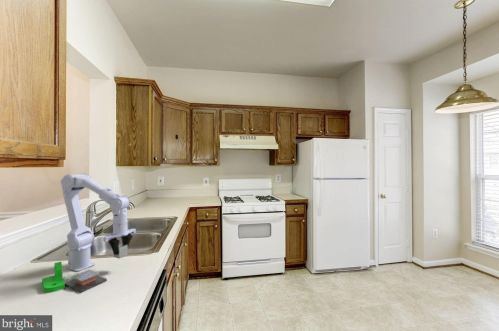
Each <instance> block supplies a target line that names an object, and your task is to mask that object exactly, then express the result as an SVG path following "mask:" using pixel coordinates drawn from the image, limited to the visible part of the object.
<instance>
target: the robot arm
mask: <svg viewBox="0 0 499 331" xmlns="http://www.w3.org/2000/svg"><path fill="white" fill-rule="evenodd" d="M60 185H61V188H62V195H63V196H62V197H63V199H64V205H65V209H66V213H67V216H68V220H69V224H70V229H71V230H70V232H69V233H68V234H67V235H66V238H67V241H66V246H67V248H68V249H69V250H68V253H67V259H68V260H67V265H65V268H67V269H69V270H72V271H75V272H79V271H82V270H85V269H87V268H90V267H93V266H95V263H93V262H91V261H92V260H91V246H92V245H93V244H94V241H95V235H94V232H92V229H91V228H90V227H89V226H86V223H85V218H84V215H83V214H84V213H83V211H82V207H81V202H80V197H79V194H80V192H82V191H83V190H84V189H85V188H86V189H88V190H90V191H92V192H94V193H95V194H97V195H98V198H99V199H100V200H102V201H103V202H104V203H107V204H108V205H109V208H110V209H111V213H112V233H109V234H108V235H105V236H103V242H105V243H107V242H108V244H109V245H110V247H111V249H112V250H111V251H112V253H113V256H114V255H118V246H119V244H120V240H119V239H120V238H121V242H122V244H127V246H128V247H127V248H128V249H129V245H130V243H131V240H132V239H133V234H136V232H137V229H136V228H130V229H129V228H128V208H129V207H130V205H131V201H130V199H129V197H128V196H127V195H121V194H119V193H117V192H116V191H114V190H113V188H111V187H109V188H108V187H107V188H106V187H105V188H104V187H103V186H102V185H100V184H99V183H98V182H96V181H95V180H94V179H92V176H90V175H88V174H87V173H77V174H76V173H75V174H66V175H64V176H63V177H62V179H61V180H60ZM118 238H119V239H118Z"/></svg>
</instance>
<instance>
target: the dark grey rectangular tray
mask: <svg viewBox="0 0 499 331" xmlns="http://www.w3.org/2000/svg"><path fill="white" fill-rule="evenodd" d="M70 278H71V279H70V280H67V281H66V282H65V281H64V283H65V288H68V289H70V290H72V291H76V292H78V293H80V294H82V293H84V292H86V291H88V290H91V289H92V288H95V287H97V286H99V285H102V284H104V283H106V282H107V281H108V280H107V278H106V277H103V276H100V272H97V271H95V270H92V269H87V270H85V271H83V272H79V273H77V274H74V275H72V276H71V277H70Z"/></svg>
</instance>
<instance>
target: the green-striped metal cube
mask: <svg viewBox="0 0 499 331" xmlns="http://www.w3.org/2000/svg"><path fill="white" fill-rule="evenodd" d="M127 247H128V248H127ZM128 249H129V246H127V244H123V243H119V246H118V255H114V254H113V258H116V259H122V258H124V257H126V256H128V251H129V250H128Z"/></svg>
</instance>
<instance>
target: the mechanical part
mask: <svg viewBox="0 0 499 331" xmlns="http://www.w3.org/2000/svg"><path fill="white" fill-rule="evenodd" d="M53 269H54V270H53V272H54V274H53V275H51V276H46V277H43V278H41V285H42V289H43V292H44V293H46V294H48V293H49V294H51V293H54V292H58V291H61V290H65V288H66V286H65V280H64V279H63V264H62V261H57V262H54V268H53Z"/></svg>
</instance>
